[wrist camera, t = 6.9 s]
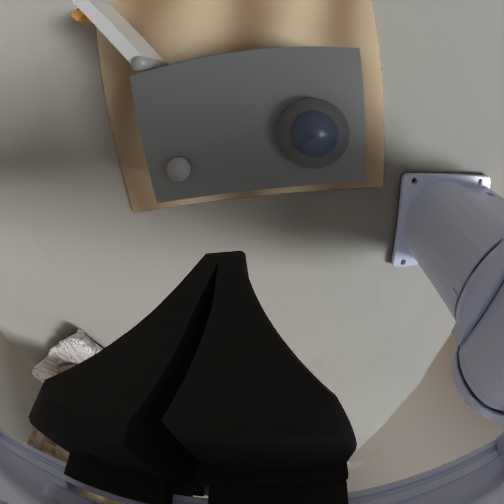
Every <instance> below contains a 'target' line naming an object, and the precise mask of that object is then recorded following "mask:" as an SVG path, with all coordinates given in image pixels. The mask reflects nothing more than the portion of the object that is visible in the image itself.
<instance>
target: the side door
mask: <svg viewBox="0 0 504 504" xmlns="http://www.w3.org/2000/svg"><path fill="white" fill-rule="evenodd" d="M72 2H73V3H74V4H75V5H76V6H77V7H78V9H77V10H76V11H75V12H74V13H73V14H72V15H71V16H72V17H73V18H74V19H75V20H76V21H77V22H82V23H86V24H90V25H92V24H94V25H95V26H96V27H97V28H98V29H99V30H100V31H101V32H102V33H103V34H104V35H105V36H106V38H107V39H108V40H109V41H110V42H111V43H112V44H113V45H114V46H115V47H116V48H117V49H118V51H119V52H120V53H121V54H122V55H123V56H124V57H125V58H126V59H127V60H128V62H129V63H130V64H131V68H132V69H133V70H137V71H148V70H151V69H155V68H158V67H162V66H165V65H169V64H168V63H167V62H165V61H164V60H163V58H162V57H161V56H160V55H159V54H158V53H157V52H156V51H155V50H154V49H153V48H152V47H151V45H150V44H149V43H148V42H147V41H146V40H145V39H144V38H143V37H142V36H141V35H140V34H139V33H138V32H137V31H136V30H135V29H134V28H133V27H132V26H131V25H130V24H129V23H128V22H127V21H126V20H125V19H124V18H123V17H122V16H121V15H120V14H119V13H118V12H117V11H116V10H115V9H114V8H113V7H112V6H111V5H110V4H109V3H107V2H104V1H102V0H72Z"/></svg>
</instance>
